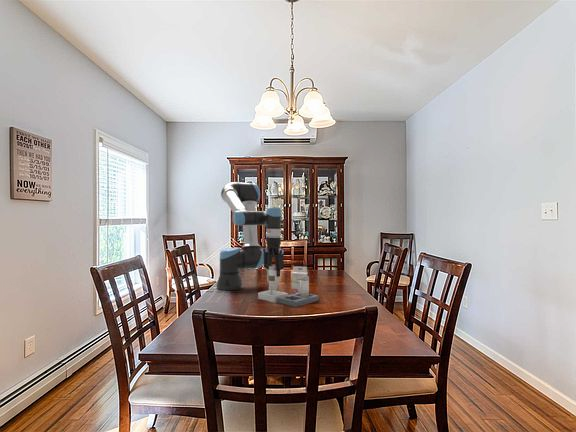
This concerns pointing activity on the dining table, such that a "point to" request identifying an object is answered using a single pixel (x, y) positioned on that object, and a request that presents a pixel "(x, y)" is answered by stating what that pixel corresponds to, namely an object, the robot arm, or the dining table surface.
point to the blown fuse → (272, 278)
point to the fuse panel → (297, 299)
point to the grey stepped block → (297, 278)
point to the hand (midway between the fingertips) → (273, 282)
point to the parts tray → (271, 295)
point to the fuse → (304, 286)
